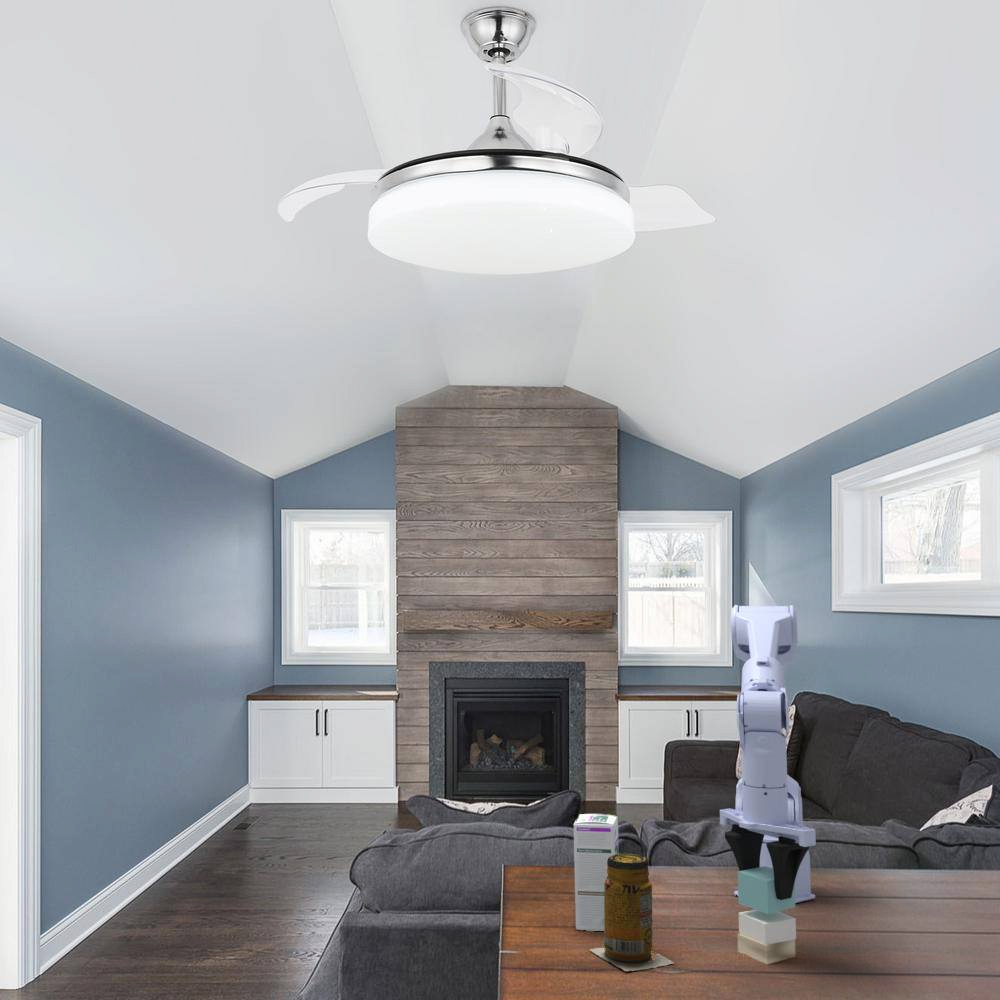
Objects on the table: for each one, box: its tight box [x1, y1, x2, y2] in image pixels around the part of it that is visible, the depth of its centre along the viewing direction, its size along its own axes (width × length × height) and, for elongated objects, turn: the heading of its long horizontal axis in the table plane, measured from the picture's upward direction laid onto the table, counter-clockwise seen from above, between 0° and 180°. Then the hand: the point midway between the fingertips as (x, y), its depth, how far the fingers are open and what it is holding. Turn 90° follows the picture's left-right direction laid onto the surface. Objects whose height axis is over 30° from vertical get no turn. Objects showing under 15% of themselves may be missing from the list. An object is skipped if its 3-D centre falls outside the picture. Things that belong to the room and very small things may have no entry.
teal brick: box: [737, 866, 796, 914], centre depth 126 cm, size 5×5×4 cm
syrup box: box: [573, 813, 620, 932], centre depth 136 cm, size 6×6×14 cm
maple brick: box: [737, 933, 796, 965], centre depth 125 cm, size 5×5×2 cm
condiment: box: [589, 853, 675, 972], centre depth 124 cm, size 7×8×12 cm
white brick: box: [738, 909, 797, 945], centre depth 125 cm, size 5×5×2 cm
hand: (767, 892), depth 126 cm, fingers closed on teal brick, 5 cm apart
